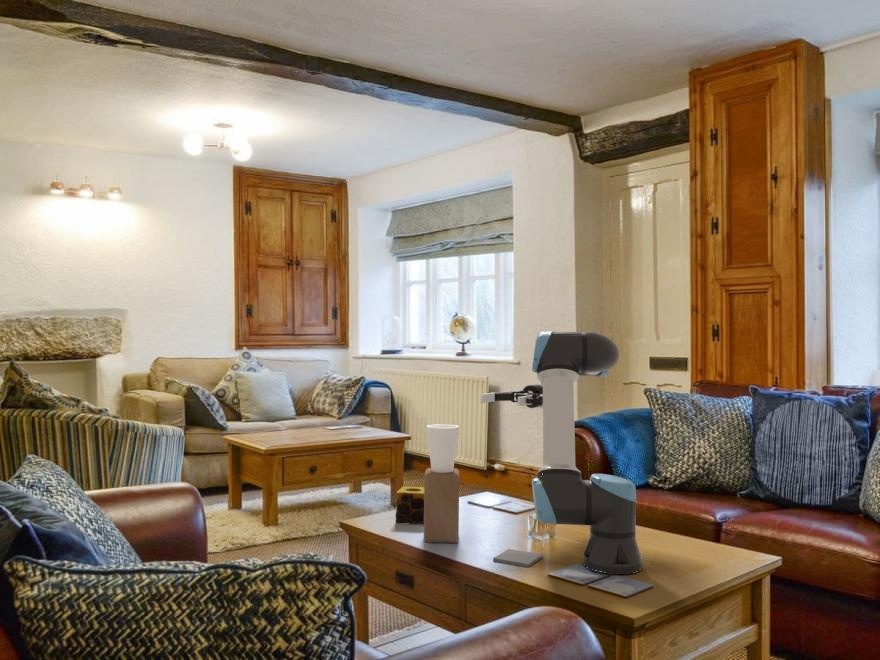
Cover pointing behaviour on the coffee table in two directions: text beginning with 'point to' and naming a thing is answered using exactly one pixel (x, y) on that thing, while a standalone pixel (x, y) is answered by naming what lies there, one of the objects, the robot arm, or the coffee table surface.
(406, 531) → the coffee table surface
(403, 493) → the giraffe print tissue box
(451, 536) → the block
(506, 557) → the slate coaster
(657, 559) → the coffee table surface
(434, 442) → the foam cup
